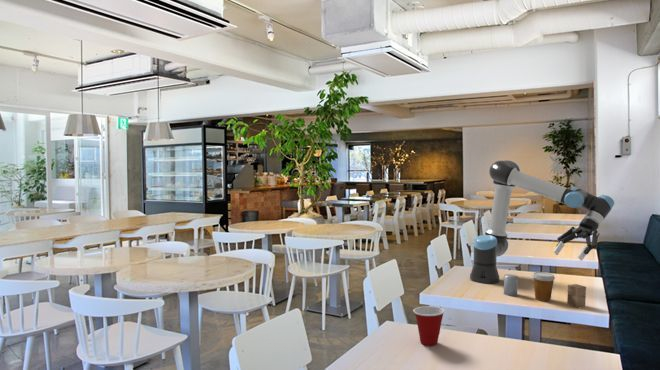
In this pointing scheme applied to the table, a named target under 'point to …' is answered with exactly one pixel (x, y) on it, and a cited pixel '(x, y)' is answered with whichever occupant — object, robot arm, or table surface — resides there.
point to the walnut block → (576, 295)
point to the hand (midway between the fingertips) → (567, 255)
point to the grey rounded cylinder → (510, 284)
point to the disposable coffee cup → (543, 285)
